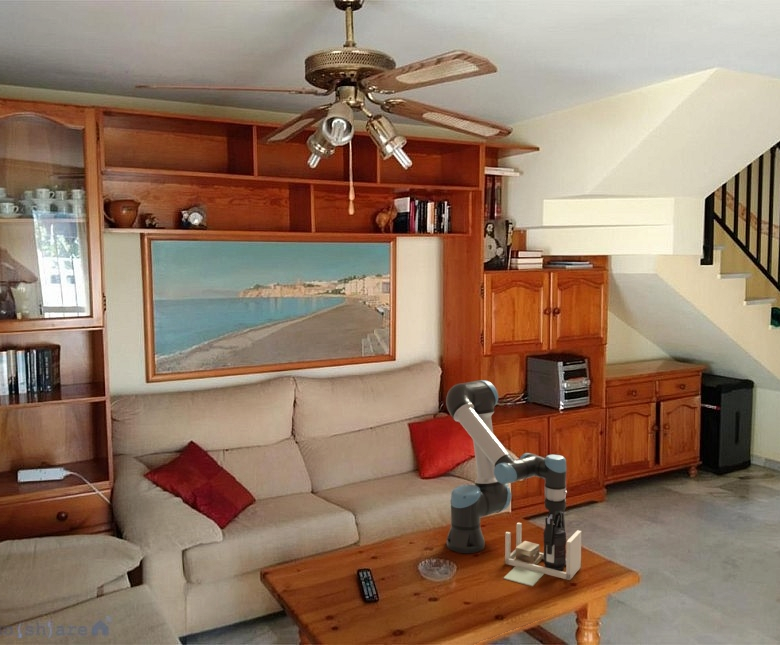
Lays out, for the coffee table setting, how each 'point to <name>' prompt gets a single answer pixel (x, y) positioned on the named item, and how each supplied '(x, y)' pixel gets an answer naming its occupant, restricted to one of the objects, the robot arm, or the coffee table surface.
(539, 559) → the plate
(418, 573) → the coffee table surface
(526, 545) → the offcut top
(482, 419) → the robot arm
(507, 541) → the rack
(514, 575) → the mat
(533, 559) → the offcut middle
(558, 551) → the camera lens
